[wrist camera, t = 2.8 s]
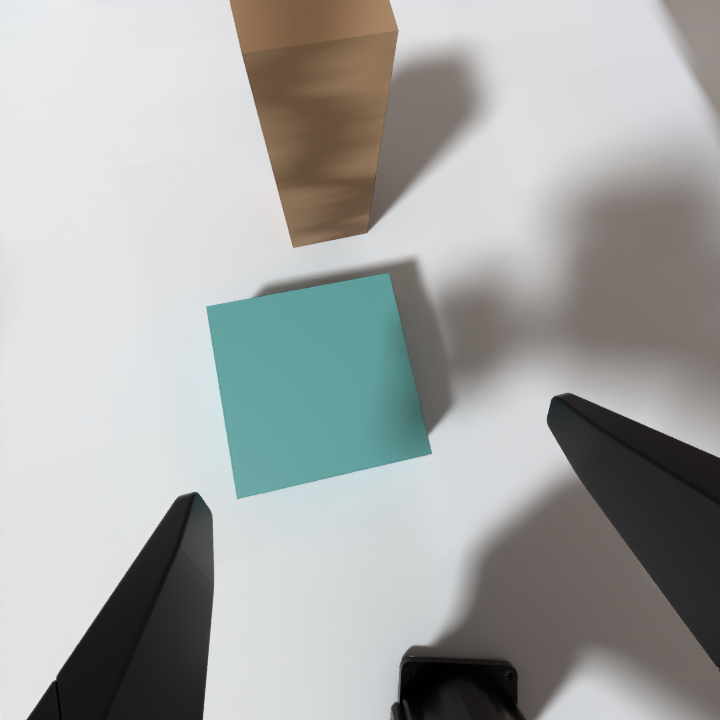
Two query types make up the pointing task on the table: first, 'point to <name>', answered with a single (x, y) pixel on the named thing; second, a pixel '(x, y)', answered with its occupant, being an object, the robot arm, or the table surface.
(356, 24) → the walnut pillar
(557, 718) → the table surface
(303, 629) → the table surface
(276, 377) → the teal base block
